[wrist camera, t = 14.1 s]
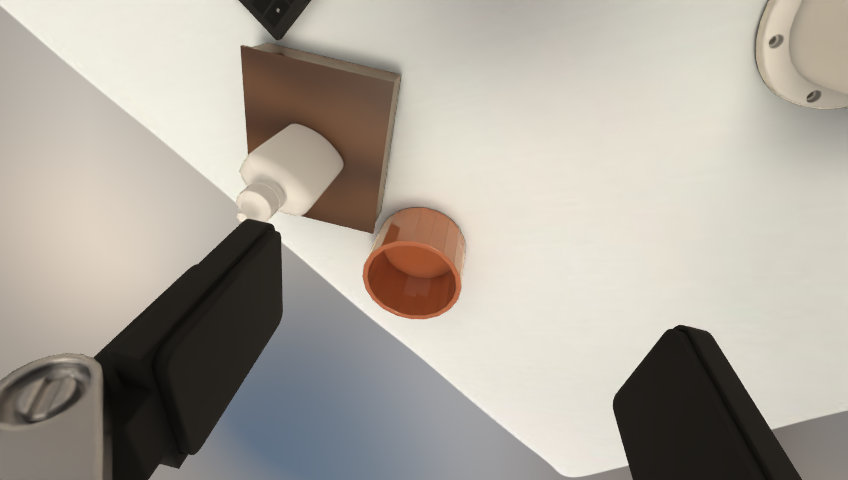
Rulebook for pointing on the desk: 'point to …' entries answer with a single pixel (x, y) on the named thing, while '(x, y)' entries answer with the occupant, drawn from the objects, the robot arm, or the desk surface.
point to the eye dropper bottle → (287, 174)
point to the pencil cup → (416, 264)
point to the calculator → (276, 14)
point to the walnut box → (326, 121)
